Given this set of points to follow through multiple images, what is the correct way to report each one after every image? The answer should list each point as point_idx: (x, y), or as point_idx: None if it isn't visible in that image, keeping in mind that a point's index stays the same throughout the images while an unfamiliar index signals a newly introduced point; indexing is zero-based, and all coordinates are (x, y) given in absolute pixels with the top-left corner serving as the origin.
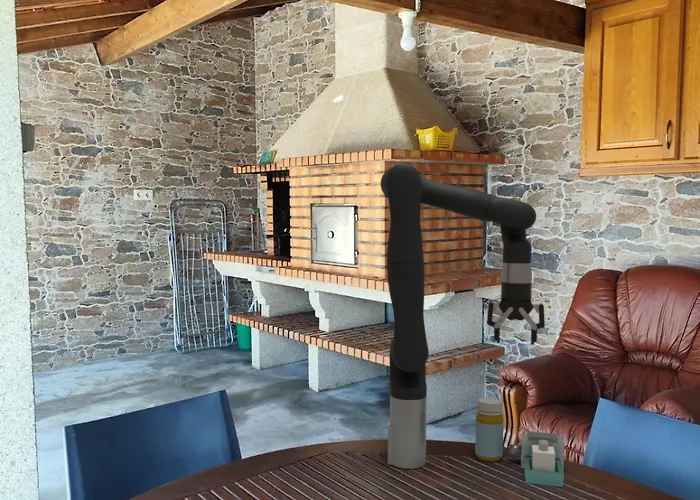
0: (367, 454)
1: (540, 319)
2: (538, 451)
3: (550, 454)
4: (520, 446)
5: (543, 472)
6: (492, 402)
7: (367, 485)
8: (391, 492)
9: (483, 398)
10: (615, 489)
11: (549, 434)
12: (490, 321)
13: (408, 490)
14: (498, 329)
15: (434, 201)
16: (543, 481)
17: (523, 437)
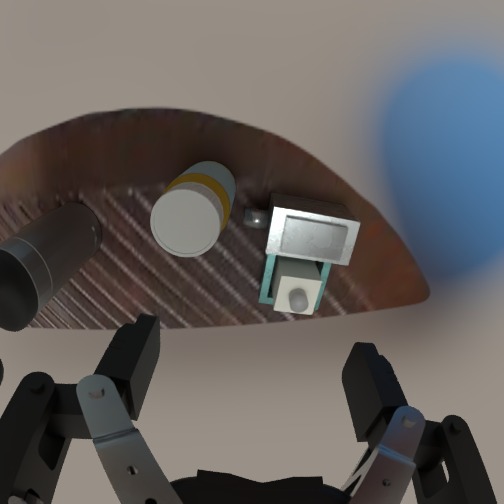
0: (25, 207)
1: (422, 497)
2: (284, 306)
3: (303, 313)
4: (266, 227)
5: None
6: (190, 239)
7: (56, 308)
8: (84, 325)
9: (166, 200)
10: (385, 296)
11: (332, 234)
12: (59, 442)
13: (100, 320)
14: (129, 415)
15: None
16: None
17: (272, 236)
